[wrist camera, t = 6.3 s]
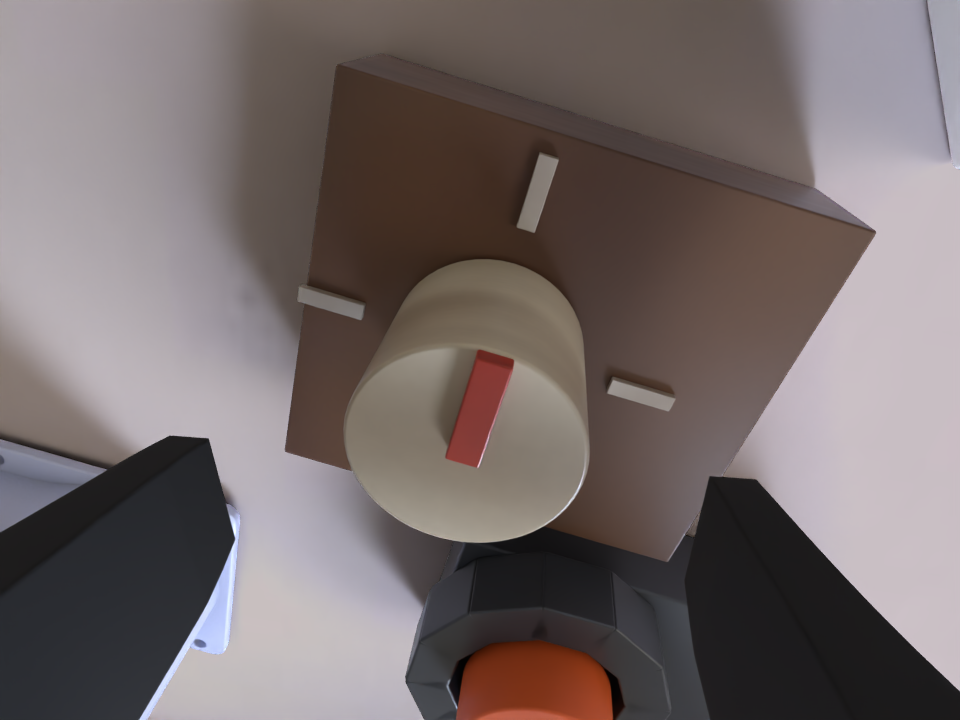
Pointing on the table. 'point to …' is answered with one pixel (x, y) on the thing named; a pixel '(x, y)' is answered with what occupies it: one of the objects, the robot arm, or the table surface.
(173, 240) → the table surface
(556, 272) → the dial panel
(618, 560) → the button housing
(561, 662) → the orange button
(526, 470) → the dial
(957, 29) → the milk
